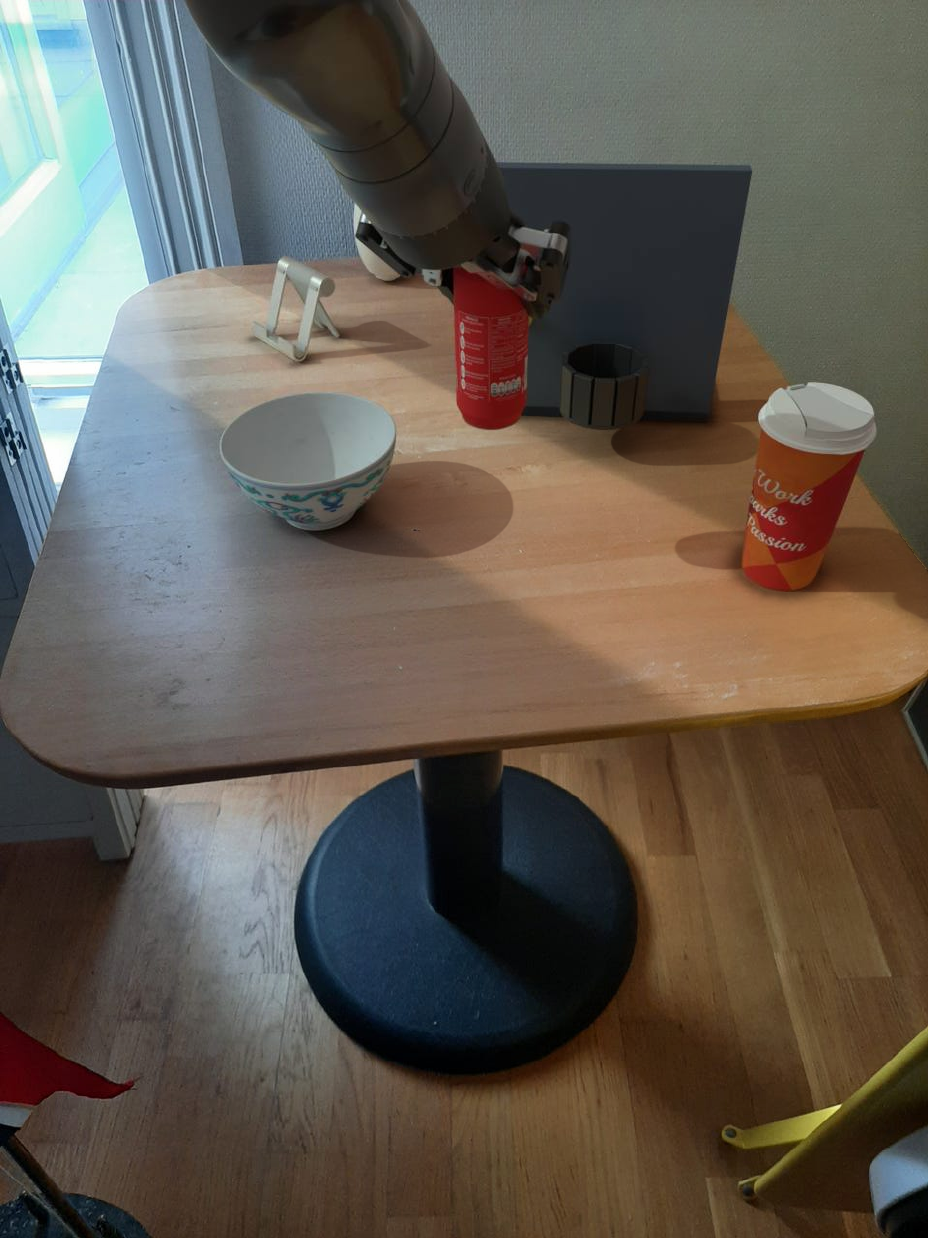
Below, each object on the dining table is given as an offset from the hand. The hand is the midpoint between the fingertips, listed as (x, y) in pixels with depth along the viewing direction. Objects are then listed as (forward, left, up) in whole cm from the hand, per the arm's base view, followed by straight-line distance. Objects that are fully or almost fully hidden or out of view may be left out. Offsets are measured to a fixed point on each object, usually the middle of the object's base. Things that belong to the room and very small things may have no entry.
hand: (501, 299), depth 65 cm
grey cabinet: (-8, -22, -22) cm, 32 cm away
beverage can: (+1, +2, -8) cm, 9 cm away
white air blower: (+20, -56, -22) cm, 63 cm away
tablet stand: (+27, -37, -22) cm, 50 cm away
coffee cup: (-23, +1, -22) cm, 32 cm away
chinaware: (+17, -4, -22) cm, 28 cm away
